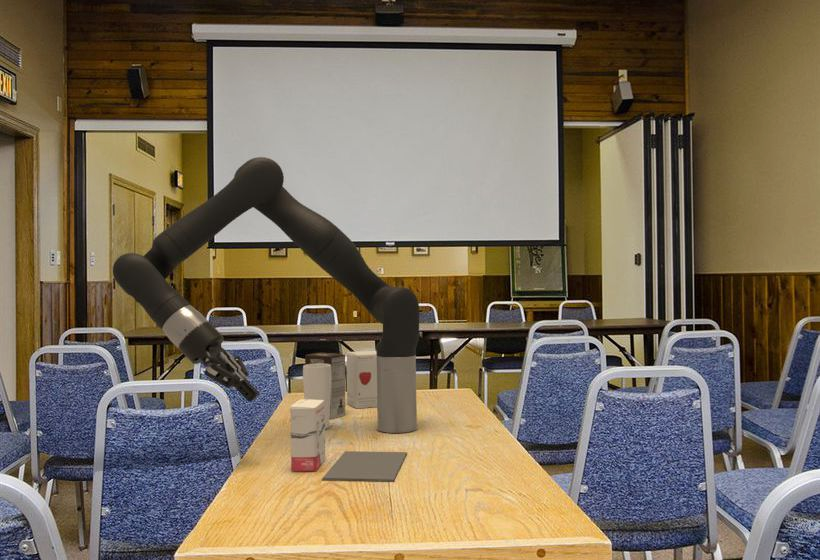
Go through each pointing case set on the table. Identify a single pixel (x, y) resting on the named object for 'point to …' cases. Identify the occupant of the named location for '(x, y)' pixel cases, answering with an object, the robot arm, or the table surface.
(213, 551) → the table surface
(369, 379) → the supplement box
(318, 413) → the ink box
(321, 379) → the drinking glass
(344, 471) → the charcoal mat
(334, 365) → the coffee box
